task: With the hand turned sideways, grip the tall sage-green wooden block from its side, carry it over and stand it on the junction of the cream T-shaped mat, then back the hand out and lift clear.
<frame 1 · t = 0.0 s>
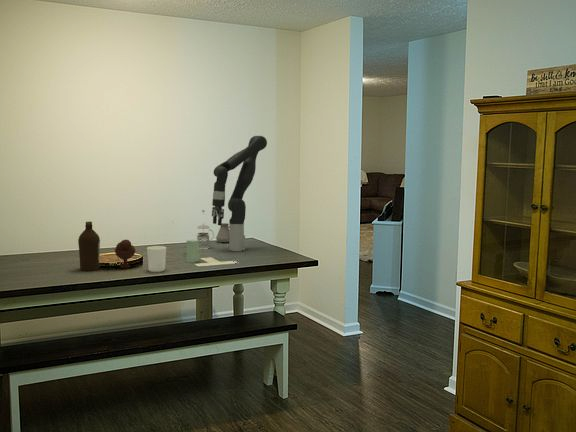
hand: (217, 224, 351), 17 cm above the table, tool pointing down, fingers open, 8 cm apart
candle holder: (156, 270, 296), on the table
french press: (204, 248, 365), on the table
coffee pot: (227, 243, 387), on the table
green block: (192, 261, 321), on the table
T mat: (216, 263, 315), on the table
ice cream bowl: (125, 267, 303), on the table
olive oil: (89, 269, 295), on the table
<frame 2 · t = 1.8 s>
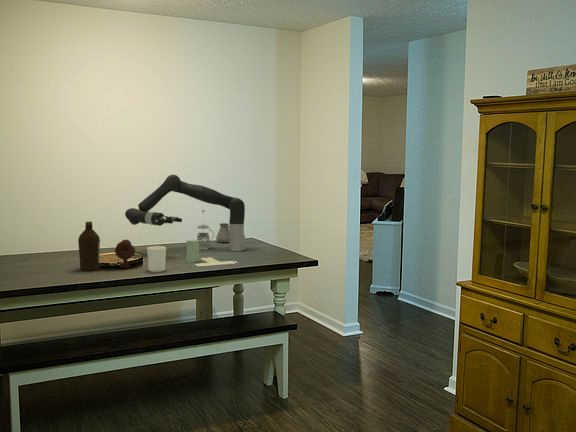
hand: (177, 220, 324), 22 cm above the table, tool horizontal, fingers open, 8 cm apart
nothing on the table moved.
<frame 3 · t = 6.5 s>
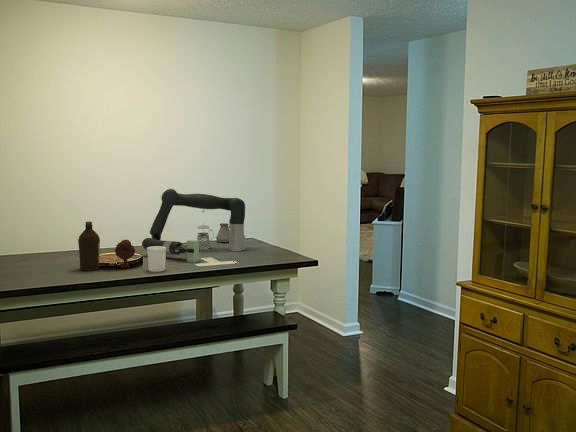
hand: (196, 250, 319), 7 cm above the table, tool horizontal, fingers closed on green block, 5 cm apart
green block: (192, 261, 321), on the table, touching gripper
everything else where it was.
when the fingers open (8 cm above the table, at t = 11.8 s): green block stays where it is, resting on T mat.
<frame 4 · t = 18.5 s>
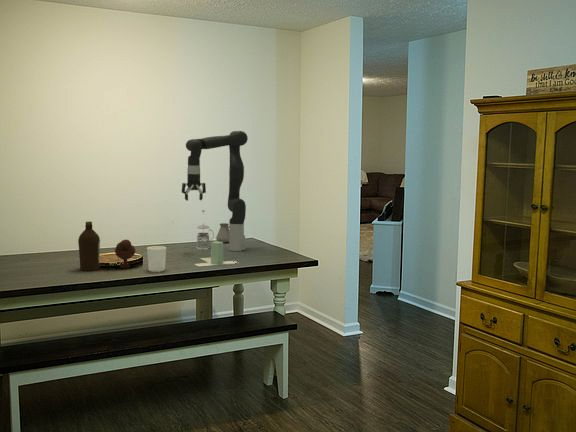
hand: (193, 200, 337), 33 cm above the table, tool pointing down, fingers open, 8 cm apart
green block: (216, 263, 315), resting on T mat
everything else where it was.
at the end: green block 0.1 cm from the T mat (horizontally); green block tilted 0°; the gripper is holding nothing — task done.
